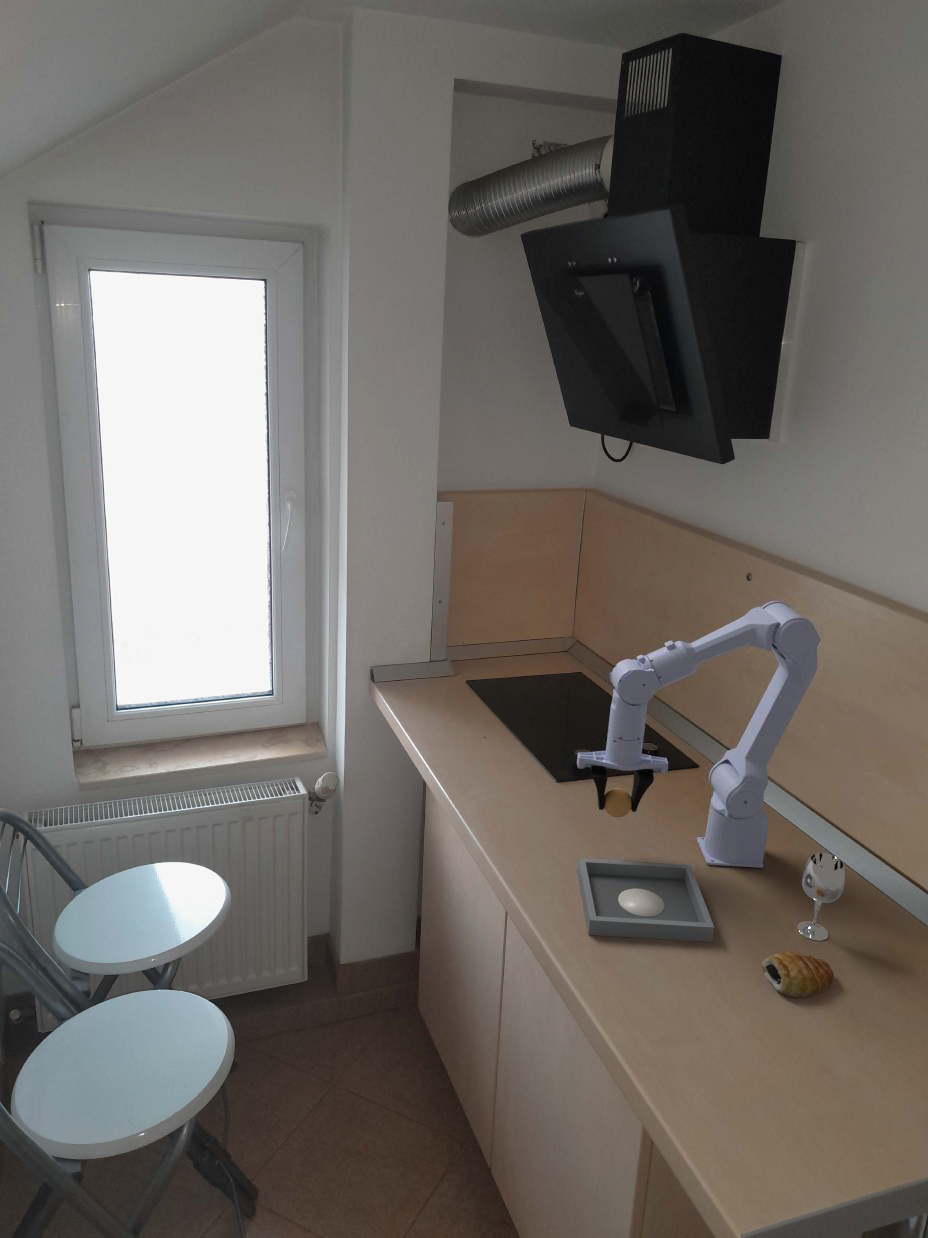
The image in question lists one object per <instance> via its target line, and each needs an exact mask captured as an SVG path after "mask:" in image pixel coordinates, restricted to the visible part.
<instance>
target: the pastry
mask: <svg viewBox="0 0 928 1238" xmlns="http://www.w3.org/2000/svg"><path fill="white" fill-rule="evenodd" d="M761 969H762V972H763V976H764V977H765V979H766V980H767V981H769V983H771V985H772V986H773V987H774V989H775V990H776V992H779V993H780V994H782V995H785V996H787V997H789V998H797V999H798V998H800V997H804V998H807V997H812V996H813V995H816V994H819V993H821V992H824V991H826V990H828V989H829V988H830V987H831V986H832V985H833V983H834V981H835V973H834V971H833V970H832V968H831V965H830V964H829V963H828V962H826V961H824V960H822V959H820V958H817V957H813V956H811V955H805V954H802V953H801V952H797V953H794V952H793V951H790V950H788V951H787V952H785V953H783V952H781V951H778V952H775V953H774V954H773V955H769V956H768V957H767V958H765V959H764V960H762V961H761Z"/></svg>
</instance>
